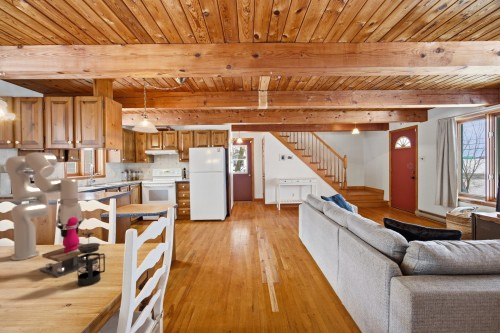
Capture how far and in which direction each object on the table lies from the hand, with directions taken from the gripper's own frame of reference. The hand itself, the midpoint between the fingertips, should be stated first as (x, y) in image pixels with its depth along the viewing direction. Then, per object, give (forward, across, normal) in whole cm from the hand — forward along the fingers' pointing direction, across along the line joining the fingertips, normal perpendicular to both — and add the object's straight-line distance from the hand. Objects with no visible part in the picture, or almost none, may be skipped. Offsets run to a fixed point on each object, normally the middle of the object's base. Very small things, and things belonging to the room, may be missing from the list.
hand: (69, 235), depth 131 cm
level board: (+10, 0, 0) cm, 10 cm away
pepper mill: (+8, 0, -1) cm, 8 cm away
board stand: (+17, 0, 0) cm, 17 cm away
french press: (+18, -5, -26) cm, 32 cm away
